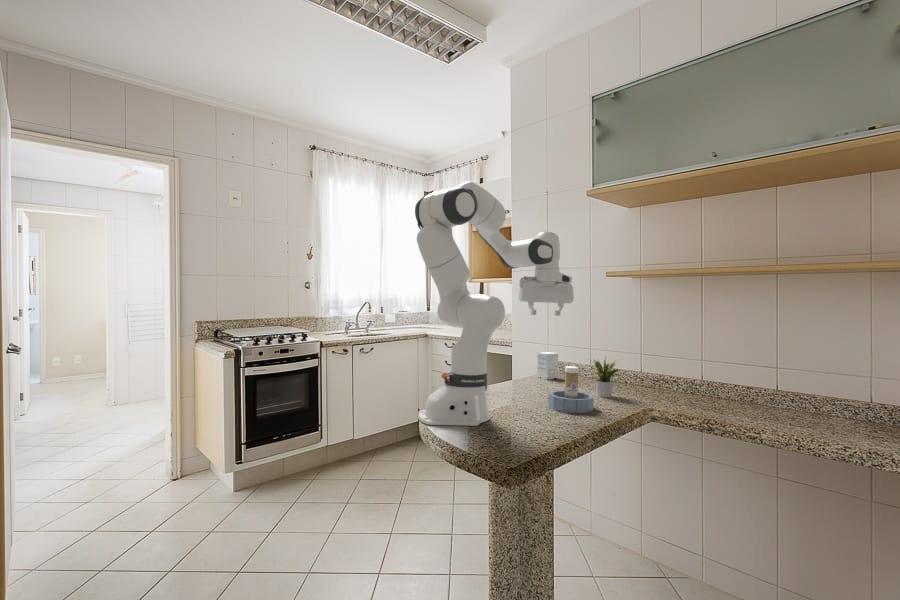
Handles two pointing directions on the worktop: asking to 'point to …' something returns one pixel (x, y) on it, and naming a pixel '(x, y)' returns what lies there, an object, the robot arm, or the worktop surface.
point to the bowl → (571, 402)
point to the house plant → (604, 378)
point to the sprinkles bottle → (571, 382)
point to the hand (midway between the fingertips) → (545, 315)
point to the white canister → (547, 365)
